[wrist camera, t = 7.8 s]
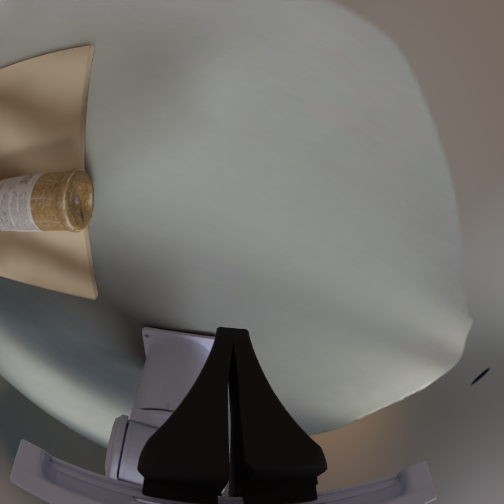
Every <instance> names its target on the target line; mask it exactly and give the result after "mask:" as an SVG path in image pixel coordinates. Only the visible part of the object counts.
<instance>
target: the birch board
mask: <svg viewBox="0 0 504 504" xmlns="http://www.w3.org/2000/svg"><path fill="white" fill-rule="evenodd" d="M94 48H95V46H91V45H87V46H82V47H76V48H71V49H66V50H62V51H57V52H53V53H49V54H45V55H42V56H38V57H35V58H31V59H28V60H25V61H22V62H19V63H16V64H13V65H10V66H7V67H4V68H2V69H0V180H4V179H8V178H13V177H19V176H24V175H31V174H38V173H46V172H49V173H55V172H62V171H71V170H72V169H75V168H81V169H83V170H85V123H86V108H87V97H88V88H89V80H90V72H91V66H92V60H93V54H94ZM0 276H2V277H5V278H9V279H12V280H16V281H19V282H23V283H27V284H30V285H34V286H38V287H42V288H46V289H50V290H54V291H58V292H62V293H67V294H71V295H75V296H80V297H85V298H89V299H94V300H96V298H97V296H98V290H97V285H96V280H95V274H94V268H93V262H92V255H91V248H90V240H89V231H88V225H87V227H86V228H85V229H84V230H82V231H81V232H77V233H75V232H70V231H46V232H18V231H0Z"/></svg>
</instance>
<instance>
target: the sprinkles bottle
mask: <svg viewBox="0 0 504 504" xmlns="http://www.w3.org/2000/svg"><path fill="white" fill-rule="evenodd" d="M93 207H94V189H93V184H92V182H91V178H90V176H89V175H88V173H87V172H86V171H85V170H83V169H81V168H75V169H72V170H71V171H62V172H55V173H49V172H46V173H38V174H31V175H24V176H19V177H13V178H8V179H4V180H0V231H18V232H46V231H70V232H75V233H77V232H81V231H82V230H84V229H85V228H86V227H87V225H88V224H89V222H90V219H91V217H92V212H93Z"/></svg>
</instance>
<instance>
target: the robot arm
mask: <svg viewBox="0 0 504 504" xmlns="http://www.w3.org/2000/svg"><path fill="white" fill-rule="evenodd" d="M142 336H143V342H144V349H145V355H146V361H145V365H144V368H143V372H142V376H141V380H140V384H139V387H138V391H137V395H136V400H135V404H134V408H132V412H131V416H130V420H128V416H126V415H122V416H121V417H118V418H116V419H115V422H114V425H113V428H112V432H111V436H110V440H109V445H108V450H107V456H106V463H105V470H106V475H105V476H103V475H99V474H97V473H93V472H90V471H88V470H85V469H82V468H79V467H77V466H74V465H71V464H69V463H66V462H64V461H62V460H59V459H57V458H55V457H53V456H51V455H50V454H49V453H48V452H46V451H45V450H43V449H41V448H39V447H37V446H35V445H33V444H31V443H29V442H27V441H26V440H24V439H22V440H21V442H20V445H19V448H18V452H17V455H16V458H15V462H14V465H13V469H12V473H11V477H10V480H11V481H12V482H13V483H15V484H17V485H18V486H20V487H22V488H23V489H25V490H27V491H28V492H30V493H32V494H34V495H35V496H37V497H39V498H41V499H43V500H45V501H47V502H48V503H50V504H427V503H429V502H431V501H433V500H435V499H436V498H437V496H436V492H435V489H434V485H433V481H432V478H431V475H430V471H429V468H428V465H427V462H426V461H424V462H421V463H419V464H416V465H413V466H410V467H408V468H406V469H404V470H402V471H400V472H399V473H398V474H394V475H391V476H388V477H385V478H381V479H377V480H374V481H370V482H366V483H362V484H358V485H353V486H349V487H344V488H339V489H333V490H328V491H321V492H317V491H316V485H317V484H318V481H317V476H319V475H320V474H322V473H324V472H325V471H326V470H327V462H326V459H325V456H324V453H323V451H322V449H321V447H320V446H319V445H318V444H317V443H315V442H314V441H313V440H312V439H311V438H310V437H309V436H308V435H307V434H306V433H305V432H304V431H303V430H302V429H301V427H300V426H299V425H298V424H297V423H296V422H295V420H294V419H293V418H292V417H291V416H290V414H289V413H288V412H287V411H286V409H285V408H284V406H283V405H282V404H281V402H280V401H279V399H278V398H277V396H276V395H275V393H274V391H273V390H272V388H271V386H270V385H269V383H268V381H267V379H266V377H265V375H264V373H263V371H262V369H261V367H260V364H259V362H258V360H257V357H256V355H255V352H254V349H253V347H252V343H251V340H250V336H249V332H248V330H247V329H236V328H225V327H219V328H217V331H216V336H215V337H213V336H205V335H197V334H189V333H182V332H175V331H168V330H162V329H156V328H150V327H144V328H143V329H142ZM228 385H229V399H230V413H231V440H230V455H229V437H228ZM228 481H229V497H220V496H221V495H222V492H223V491H224V490H225V488H226V485H227V483H228Z"/></svg>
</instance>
